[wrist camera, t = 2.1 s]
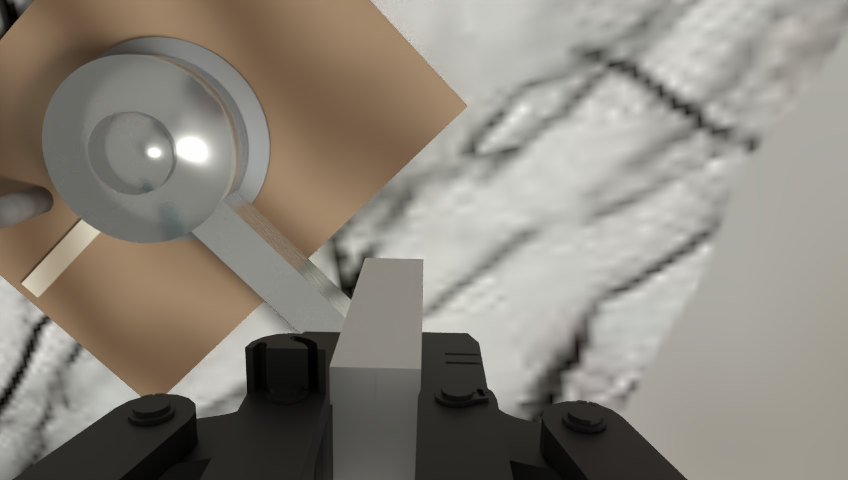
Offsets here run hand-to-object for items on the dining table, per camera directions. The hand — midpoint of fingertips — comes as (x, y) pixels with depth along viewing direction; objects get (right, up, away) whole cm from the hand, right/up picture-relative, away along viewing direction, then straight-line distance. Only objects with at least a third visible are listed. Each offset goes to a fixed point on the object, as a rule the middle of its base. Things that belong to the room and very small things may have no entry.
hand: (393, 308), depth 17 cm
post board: (-10, +6, +12) cm, 17 cm away
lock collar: (-6, +2, +11) cm, 13 cm away
